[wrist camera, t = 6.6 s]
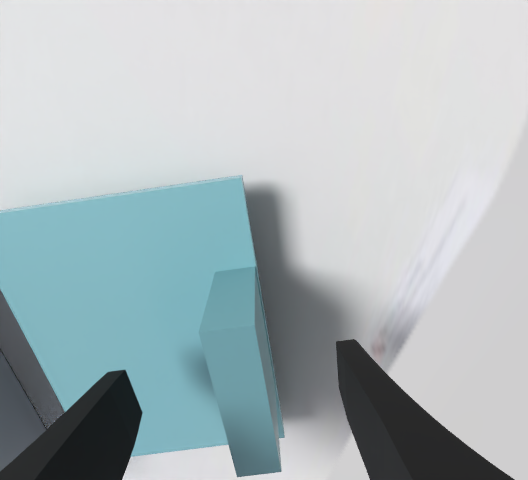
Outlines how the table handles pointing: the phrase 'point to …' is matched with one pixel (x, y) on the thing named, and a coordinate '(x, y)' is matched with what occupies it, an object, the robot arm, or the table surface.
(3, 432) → the parts tub
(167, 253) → the lid
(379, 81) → the table surface
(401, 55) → the table surface
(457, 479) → the robot arm
